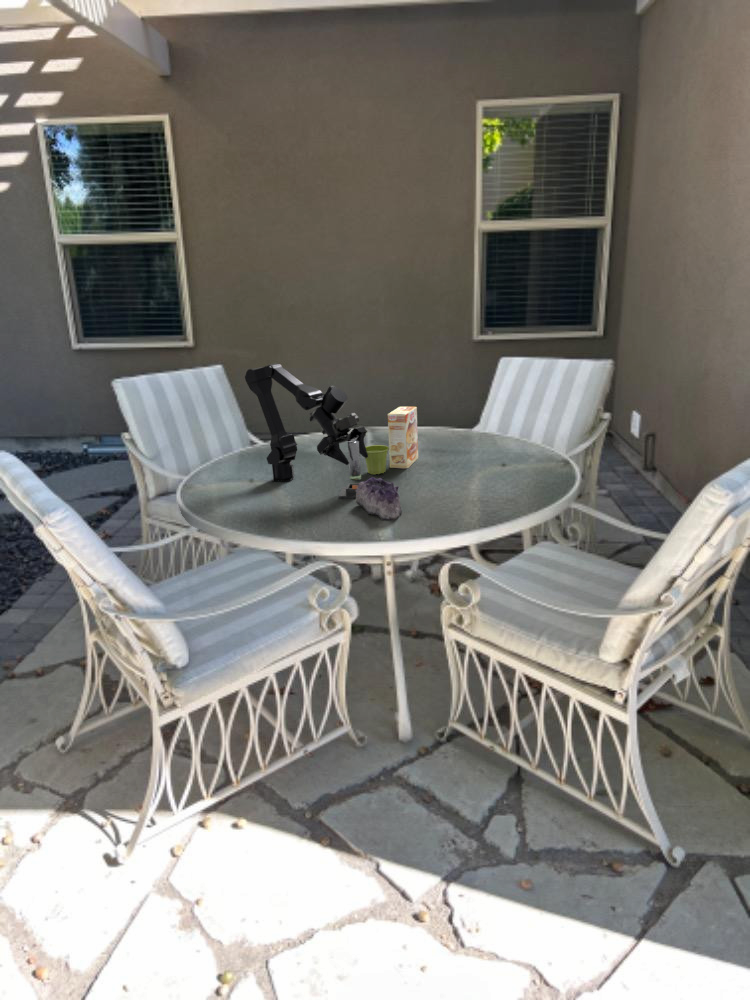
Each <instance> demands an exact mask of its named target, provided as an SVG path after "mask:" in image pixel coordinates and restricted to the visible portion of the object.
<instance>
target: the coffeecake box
mask: <svg viewBox="0 0 750 1000" xmlns="http://www.w3.org/2000/svg"><path fill="white" fill-rule="evenodd" d="M387 431H388V433H387V434H388V447H389V450H388V454H389V468H391V469H393V468H394V469H409V468H410V467H411V466H412V465H413V464H414V463H415V462H416V461H417V460H418V459H419V446H418V445H419V441H418V440H419V438H418V407H417V406H398V407H397V408H395V409H393V410H392V411H391V412H389V413H387Z"/></svg>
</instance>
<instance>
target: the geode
mask: <svg viewBox="0 0 750 1000" xmlns="http://www.w3.org/2000/svg"><path fill="white" fill-rule="evenodd" d="M357 484H358V486H357V490H356V498H355V503H356V504H357V505H358V506H361V507H363V510H365V512H366V513H367V514H368V515H373V516H378V517H379V518H380V519H381V520H382V521H397V520H398V519H399V518H400V516H401V515H402V513H403V511H402V506H401V505H402V504H401V499H400V495H399V493H398V491H399V485H397V486H395V484H394V482H390V481H387V480H385V479H382V478H381V477H379V478H376V477H374V476H372V477H369V478H368V479H367V480H364V481H363V480H362V481H360V482H358V483H357Z"/></svg>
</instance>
